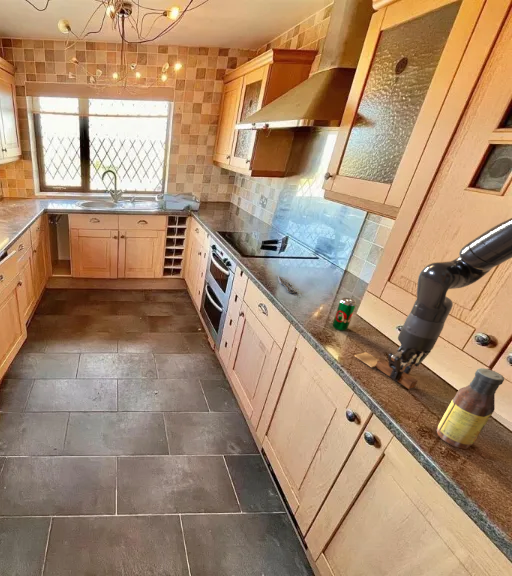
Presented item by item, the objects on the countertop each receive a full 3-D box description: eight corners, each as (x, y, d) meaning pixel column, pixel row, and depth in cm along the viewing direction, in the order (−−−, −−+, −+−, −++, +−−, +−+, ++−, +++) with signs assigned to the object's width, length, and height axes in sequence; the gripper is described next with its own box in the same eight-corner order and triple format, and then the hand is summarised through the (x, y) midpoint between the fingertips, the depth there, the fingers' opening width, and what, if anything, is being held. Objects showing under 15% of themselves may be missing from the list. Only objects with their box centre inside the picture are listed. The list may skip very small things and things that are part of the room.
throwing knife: (288, 293, 143) (288, 292, 143) (273, 275, 161) (273, 274, 161) (297, 293, 143) (298, 292, 143) (281, 276, 161) (282, 275, 161)
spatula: (417, 386, 89) (421, 379, 88) (405, 390, 88) (408, 383, 87) (365, 353, 103) (368, 347, 102) (354, 356, 102) (356, 350, 101)
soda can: (342, 324, 120) (352, 297, 114) (350, 331, 115) (360, 303, 110) (329, 323, 120) (338, 296, 115) (335, 331, 116) (345, 303, 110)
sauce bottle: (476, 453, 71) (524, 389, 62) (442, 445, 73) (484, 382, 64) (459, 430, 77) (501, 368, 68) (428, 423, 78) (465, 362, 70)
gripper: (417, 342, 80) (393, 392, 87) (454, 332, 83) (428, 381, 91) (388, 327, 86) (368, 374, 94) (424, 318, 89) (401, 365, 97)
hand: (397, 377), depth 92 cm, fingers closed on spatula, 2 cm apart
